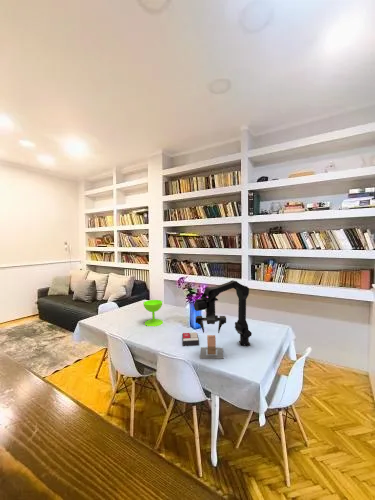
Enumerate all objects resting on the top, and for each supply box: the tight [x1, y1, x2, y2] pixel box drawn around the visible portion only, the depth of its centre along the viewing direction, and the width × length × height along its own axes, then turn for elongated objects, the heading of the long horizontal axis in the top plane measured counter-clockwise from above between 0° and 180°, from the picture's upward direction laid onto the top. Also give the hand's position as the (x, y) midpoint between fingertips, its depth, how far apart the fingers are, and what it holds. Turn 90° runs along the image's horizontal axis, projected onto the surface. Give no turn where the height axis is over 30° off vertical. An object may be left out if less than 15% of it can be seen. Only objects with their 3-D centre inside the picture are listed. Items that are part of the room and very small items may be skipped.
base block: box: [207, 345, 217, 354], centre depth 155 cm, size 5×5×5 cm
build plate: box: [199, 346, 224, 360], centre depth 155 cm, size 14×14×1 cm
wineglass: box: [143, 299, 164, 327], centre depth 211 cm, size 16×16×18 cm
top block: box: [206, 334, 217, 348], centre depth 155 cm, size 5×5×5 cm
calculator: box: [181, 332, 200, 347], centre depth 174 cm, size 11×4×15 cm
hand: (211, 332), depth 155 cm, fingers open, 9 cm apart
